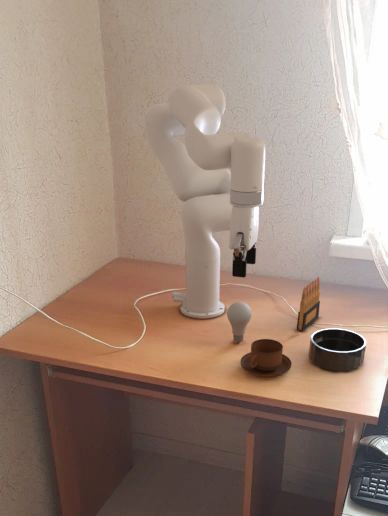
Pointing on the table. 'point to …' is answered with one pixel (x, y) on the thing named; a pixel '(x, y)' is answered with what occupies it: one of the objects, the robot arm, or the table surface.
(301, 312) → the ammunition clip
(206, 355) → the table surface
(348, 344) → the bowl
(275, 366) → the cup and saucer
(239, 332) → the lightbulb
